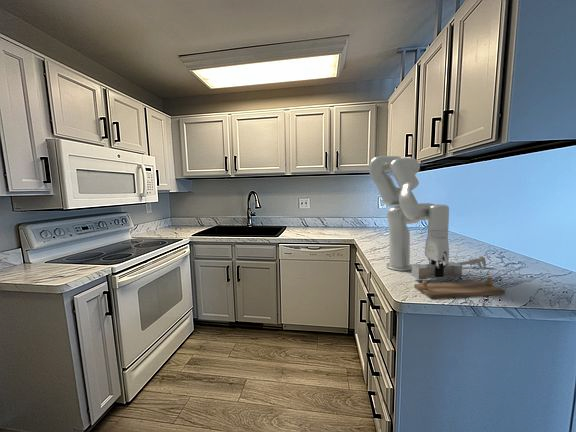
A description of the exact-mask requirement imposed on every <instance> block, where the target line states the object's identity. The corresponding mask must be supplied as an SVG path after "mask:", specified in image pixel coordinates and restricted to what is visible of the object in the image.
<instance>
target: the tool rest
mask: <svg viewBox="0 0 576 432" xmlns="http://www.w3.org/2000/svg"><path fill="white" fill-rule="evenodd" d="M421 281H422V282H421V283H414V285H413V286H414V289H416V290H417V291H419V292H420V293H421V294H423V295H425V296H426V297H428V298H429V299H434V300H435V299H448V298H450V299H451V298H465V297H478V296H479V297H481V296H496V295H505V294H506V293H505V290H504V289H502V288H500V287H497V286H496V285H493V277H492V276H487V278H486V281H483V280H465V281H464V280H461V281H446V282H445V281H444V282H431V283H430V282H429V283H428V281H427V280H421Z"/></svg>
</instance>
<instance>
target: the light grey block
mask: <svg viewBox="0 0 576 432" xmlns="http://www.w3.org/2000/svg"><path fill="white" fill-rule="evenodd" d="M441 263H442V262H440V264H441ZM448 263H449V264H448V265H446V266H445V268H444V275H443V277H442V278H451V277H452V278H462V277H463V265H460V264H457V262H455V261H448ZM411 265H412V270H411V276H412V277H413V278H415V279H417V280H421V281H423V280H428V279H435V278H436V279H437V278H441V277H436V276H435V275H436V268H437V264H429V263H427V264H426V263H424V264H421V263H412V264H411Z"/></svg>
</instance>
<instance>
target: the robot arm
mask: <svg viewBox="0 0 576 432" xmlns="http://www.w3.org/2000/svg"><path fill="white" fill-rule="evenodd" d="M420 169H421V166H420V163H419V161H418V160H417V159H416V158H413V157H406V156H400V155H399V156H396V155H379V156H376V157H373V158H371V160H370V162H369V167H368V171H369V175H370V177H371V180H372V181H373V183H374V185H375V186H376V188H377V190H378V193H379V194H380V198H381V199H382V202H383V204H384V205H386V206H387V207H391V208H389V209H388V211H387V214H386V218H387V222H388V231H389V235H388V236H389V237H388V239H389V240H388V241H389V243H388V245H389V248H388V249H389V251H388V253H389V254H388V255H389V256H388V259H389V262H387V263H386V265H385V267H386V268H387V269H389V270H393V271H397V272H398V271H400V272H403V271H405V272H406V271H412V264H411V255H410V254H411V252H410V249H411V247H410V245H411V243H410V242H411V237H410V236H411V234H410V230H409V228H408V226H407V225H409V224H410V225H412V224H417V223H419V222H420V221H427V236H426V240H425V247H424V256H425V257H426V259H427V261H428V264H437V268H436V275H435V276H436V277H440V278H444V277H443V275H444V268H445V266H446V265H448V264H449V263H448V262H449V260H450V259H449V258H450V246H449V245H450V243H449V224H450V223H449V222H450V221H449V220H450V219H449V218H450V208H449V205H447V204H434V203H430V202H425V203H419V202H418V200H417V199H416V197H415V195H414V193H413V192H412V191H413V190H414V189H416V188H417V187H418V186H419V184H420V181H419V179H418V177H417V176H416V174H418V173H419V171H420ZM388 173H392V175H393V177H394V179H395V181H396V183H397V186H398V187H397V186H396V184H395V183H394V180H393V179H392V178H391V177H390V176H389V175H388ZM440 263H441V264H440Z"/></svg>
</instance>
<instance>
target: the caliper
mask: <svg viewBox="0 0 576 432" xmlns="http://www.w3.org/2000/svg"><path fill="white" fill-rule="evenodd" d="M456 263H457V264H460V265H462V266H464V265H465V266H466V265H470V266H473V265H474V266H475V265H476V264H477V265H478V268H480V269H481V268H482V267H483V268H486V267H487V266H486V265H487V262H486V258H485V257H484V256H483V254H482V255H478V257H476V258H475V257H474V258H472V259H471V258H470V259H468V260H464V261H459V262H458V261H456Z"/></svg>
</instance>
